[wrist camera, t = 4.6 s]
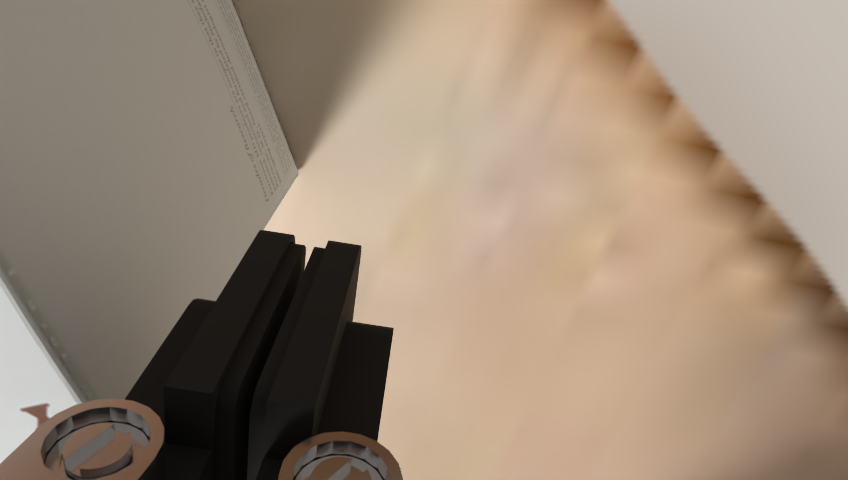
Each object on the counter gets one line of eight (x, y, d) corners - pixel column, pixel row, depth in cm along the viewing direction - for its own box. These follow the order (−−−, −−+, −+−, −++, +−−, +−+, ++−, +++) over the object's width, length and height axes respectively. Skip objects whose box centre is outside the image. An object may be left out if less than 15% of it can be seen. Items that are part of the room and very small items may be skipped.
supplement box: (214, -62, 18) (-177, -29, 7) (304, 177, 21) (136, 468, 10) (-11, 9, 19) (-661, 138, 8) (106, 226, 22) (-246, 538, 11)
